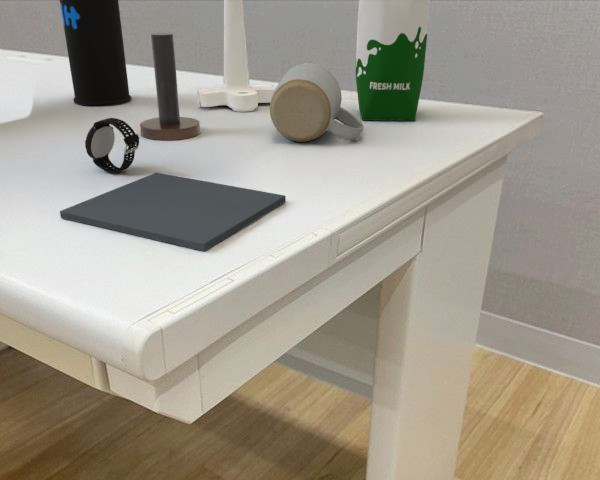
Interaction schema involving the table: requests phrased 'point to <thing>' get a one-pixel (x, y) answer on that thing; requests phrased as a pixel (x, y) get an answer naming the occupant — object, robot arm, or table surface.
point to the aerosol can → (95, 51)
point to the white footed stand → (235, 68)
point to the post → (167, 96)
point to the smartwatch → (110, 144)
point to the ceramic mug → (311, 106)
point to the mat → (175, 210)
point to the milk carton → (390, 57)
